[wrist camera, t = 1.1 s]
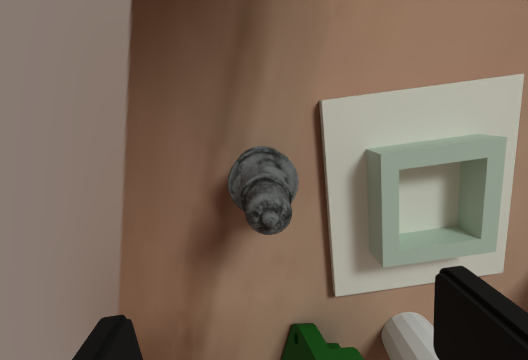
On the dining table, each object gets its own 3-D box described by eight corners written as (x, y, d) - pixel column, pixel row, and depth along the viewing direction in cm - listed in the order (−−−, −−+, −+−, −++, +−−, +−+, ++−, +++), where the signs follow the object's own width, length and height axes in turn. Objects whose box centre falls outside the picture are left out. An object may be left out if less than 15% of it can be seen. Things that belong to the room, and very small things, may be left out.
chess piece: (236, 137, 26) (227, 162, 15) (298, 149, 27) (336, 184, 15) (225, 196, 28) (208, 263, 16) (284, 207, 28) (309, 280, 17)
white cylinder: (445, 332, 33) (495, 391, 26) (397, 366, 34) (434, 430, 27) (413, 296, 32) (457, 348, 25) (364, 332, 33) (394, 391, 26)
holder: (318, 100, 26) (331, 100, 22) (513, 75, 26) (560, 69, 22) (332, 290, 31) (344, 317, 27) (495, 267, 31) (529, 290, 27)
